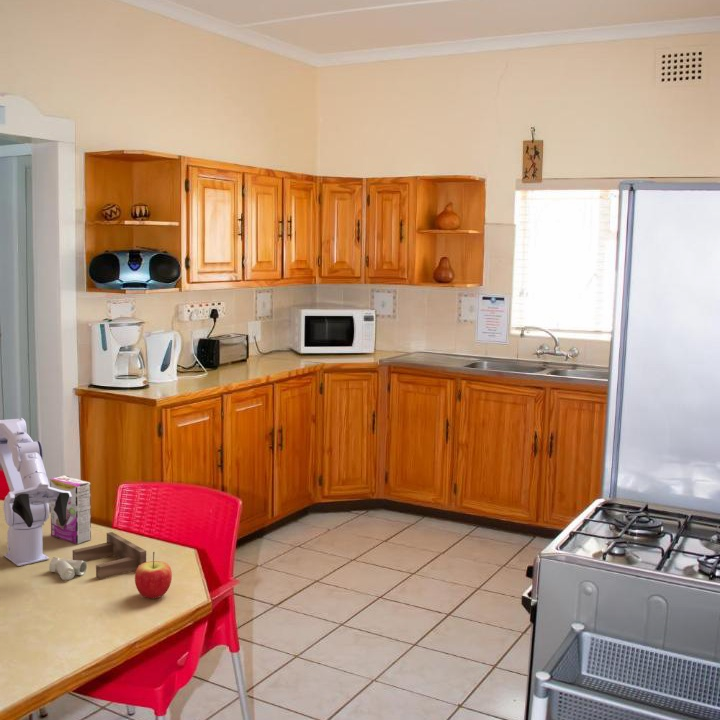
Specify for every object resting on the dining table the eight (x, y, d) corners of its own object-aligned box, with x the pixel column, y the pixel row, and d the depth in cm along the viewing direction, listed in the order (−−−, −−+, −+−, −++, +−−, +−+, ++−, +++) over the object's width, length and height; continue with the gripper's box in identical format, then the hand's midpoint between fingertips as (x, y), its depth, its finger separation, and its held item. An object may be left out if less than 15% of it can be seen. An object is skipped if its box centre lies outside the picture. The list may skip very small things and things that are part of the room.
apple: (172, 588, 201) (172, 547, 200) (170, 602, 193) (171, 560, 191) (136, 589, 200) (136, 548, 198) (133, 604, 191) (133, 561, 190)
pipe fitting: (72, 584, 202) (87, 572, 209) (71, 569, 202) (86, 557, 208) (41, 581, 204) (57, 569, 211) (40, 566, 203) (56, 554, 210)
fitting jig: (70, 559, 217) (69, 540, 216) (112, 550, 224) (111, 531, 224) (102, 581, 204) (102, 561, 203) (146, 570, 211) (146, 550, 211)
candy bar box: (49, 536, 233) (48, 478, 231) (64, 532, 237) (64, 474, 235) (76, 545, 227) (76, 485, 225) (91, 540, 231) (91, 481, 229)
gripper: (8, 468, 199) (20, 512, 191) (69, 469, 208) (83, 511, 200) (0, 489, 202) (11, 533, 194) (60, 489, 212) (73, 531, 203)
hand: (47, 523), depth 197 cm, fingers open, 7 cm apart
